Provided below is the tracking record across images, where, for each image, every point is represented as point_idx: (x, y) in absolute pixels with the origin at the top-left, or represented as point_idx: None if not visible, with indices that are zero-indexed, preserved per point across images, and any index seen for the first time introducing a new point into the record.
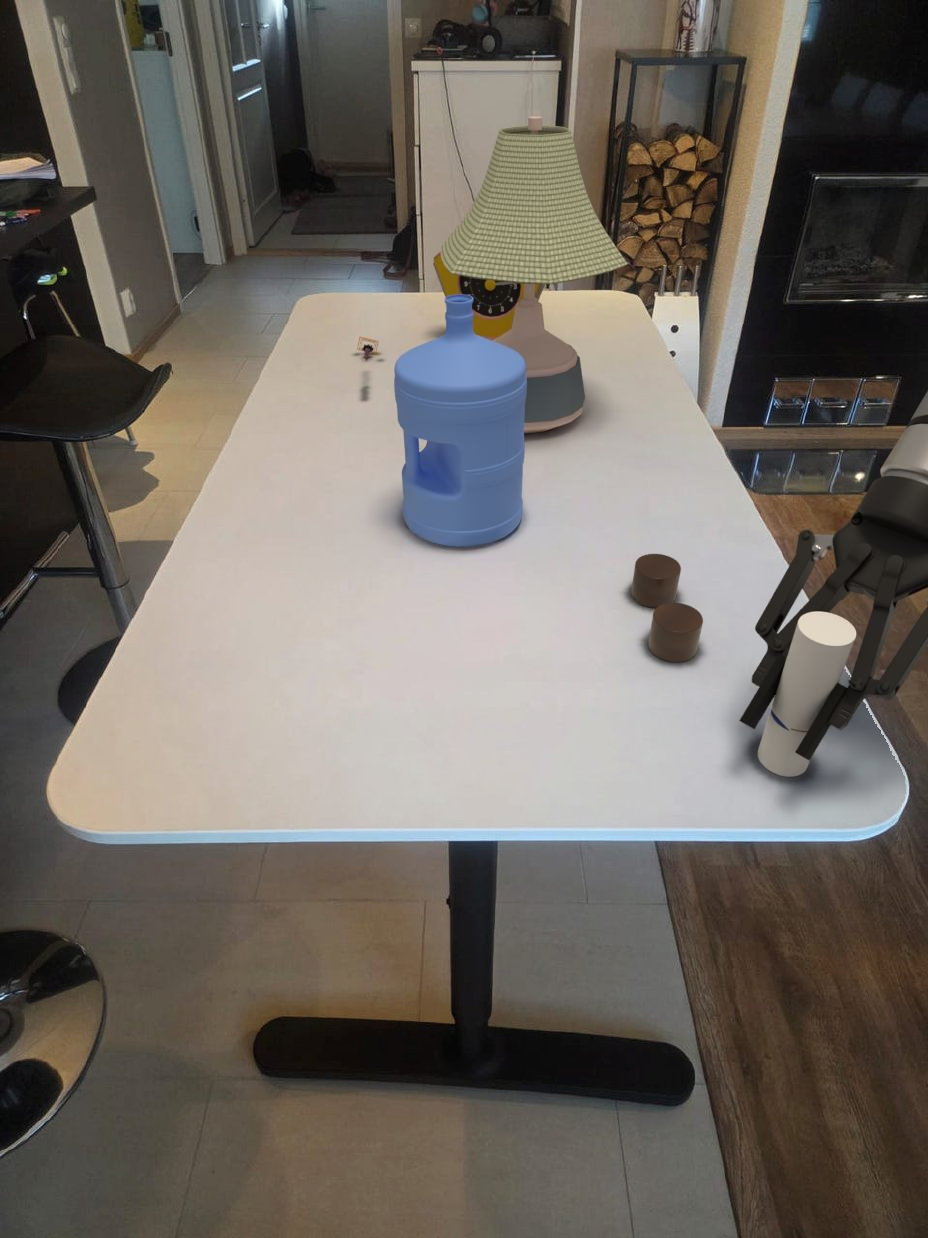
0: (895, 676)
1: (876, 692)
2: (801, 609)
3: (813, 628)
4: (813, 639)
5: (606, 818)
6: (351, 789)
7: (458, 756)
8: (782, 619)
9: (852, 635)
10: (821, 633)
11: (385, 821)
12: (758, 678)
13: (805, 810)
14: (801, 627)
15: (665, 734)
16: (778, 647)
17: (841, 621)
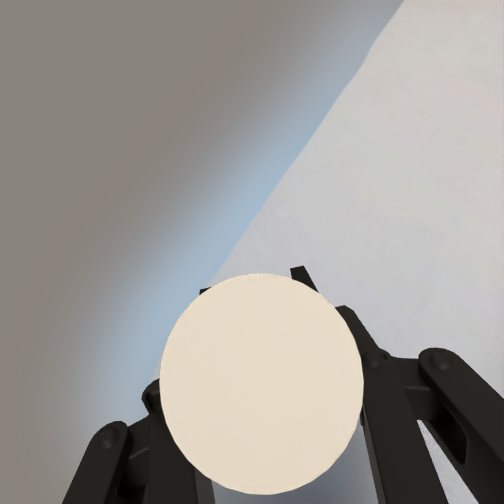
0: (84, 479)
1: (132, 429)
2: (435, 475)
3: (283, 327)
4: (242, 278)
5: (309, 154)
6: (440, 13)
7: (443, 85)
8: (457, 459)
9: (177, 416)
10: (249, 328)
11: (394, 23)
12: (341, 314)
13: None
14: (307, 296)
15: (380, 271)
16: (363, 354)
17: (255, 463)
